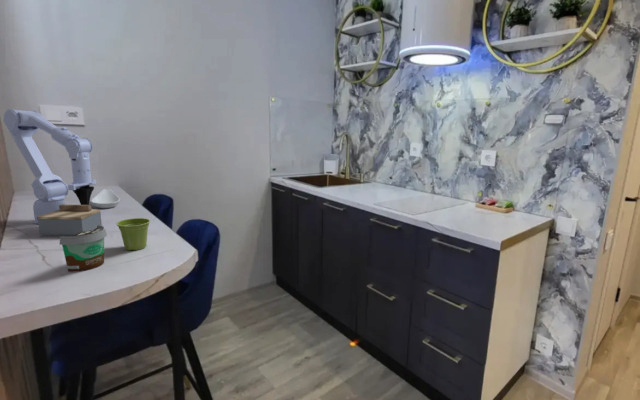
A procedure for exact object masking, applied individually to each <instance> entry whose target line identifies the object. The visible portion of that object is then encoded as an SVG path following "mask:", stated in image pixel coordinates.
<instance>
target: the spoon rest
mask: <svg viewBox="0 0 640 400" xmlns="http://www.w3.org/2000/svg"><path fill="white" fill-rule="evenodd" d="M120 201H121V198H120V197H119V196H118V195H117V194H116V193H115V192H114V191H113V190H112V189H111V188H107V189H106V188H103V189H101V191H99V192H98V194H96V195H95V196H94V197H92V199H90V202H91V203H90V204H92V205H93V206H94V207H95V208H97V209H98V208H99V209H112V208H114V207H116V206H118V204H119V203H120Z"/></svg>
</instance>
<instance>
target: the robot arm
mask: <svg viewBox="0 0 640 400" xmlns="http://www.w3.org/2000/svg"><path fill="white" fill-rule="evenodd" d="M43 115H44V114H43V113H40V112H38V111H36V110H24V109H13V108H9V109H6V110H5V112H4V115H3V118H2V121H3V123H4V124H5V126H6V129H8V132H9V134H11V136H12V140H13V142H14V143H15V144H16V146H17V148H18V149H19V152H20V154H21V155H22V157H23V159H24V160H25V162H26V164H27V166H28V167H29V169H30V171H31V173H32V174H33V176H34V180H33V182H32V183H31V188H32V190H33V194H34V196H35V198H36V200H35V201H34V203H33V204H32V205H33V207H32V209H33V215H34V222H33V224H38V216H41V215H44V214H47V213H50V212H53V211H56V210H59V205H62V204H64V205H66V204H65V203H66V201H65V199H67V196H68V194H69V191H72V192H73V193H74V195H76V197H77V199H78V201H79V205H90V202H91V197H92V193H93V192H94V190H95V187H94V186H92V185H97V179H94V178H93V179H92V172H91V170H92V169H91V159H90V153H91V152H92V150H93V144H92V142H91V141H90V139H89V138H88V137H80V136H79V135H78V134H75V133H74V132H72V131H70V130H69V129H68V127H66V126H64V127H63V126H61V127H60V126H59V127H57V125H55V124H53V123H52V122H50V121H49V120H47V118H45V117H44V116H43ZM39 129H40V130H42V131H44V132H45V133H47V134H49V135H51V138H52V140H53V141H55V142H56V143H57V144H60V145H61V146H63V147H65V150H66V152H67V153H68V157H69V158H70V162H71V171H72V180H73V181H72V183H70V184H67V183H66V182H65V181H63V178H62V177H61V176H59V175H56V174H54V173H53V172H52V171H51V169H50V167H49V165H48V163H47V161H46V160H45V158H44V156H43V154H42V153H41V151H40V149H39V147H38V146H37V143H36V142H35V140H34V138H33V136H34V135H36V134H37V132H38V131H39Z"/></svg>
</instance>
